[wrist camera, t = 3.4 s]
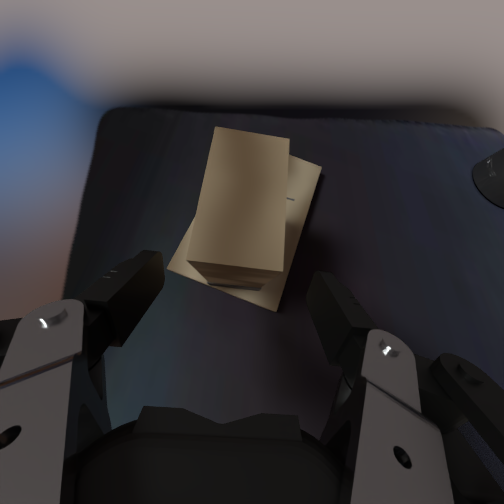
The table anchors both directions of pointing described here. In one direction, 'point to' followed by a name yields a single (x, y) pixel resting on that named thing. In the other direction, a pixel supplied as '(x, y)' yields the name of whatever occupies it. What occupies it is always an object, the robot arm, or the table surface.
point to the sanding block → (241, 211)
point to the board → (297, 206)
